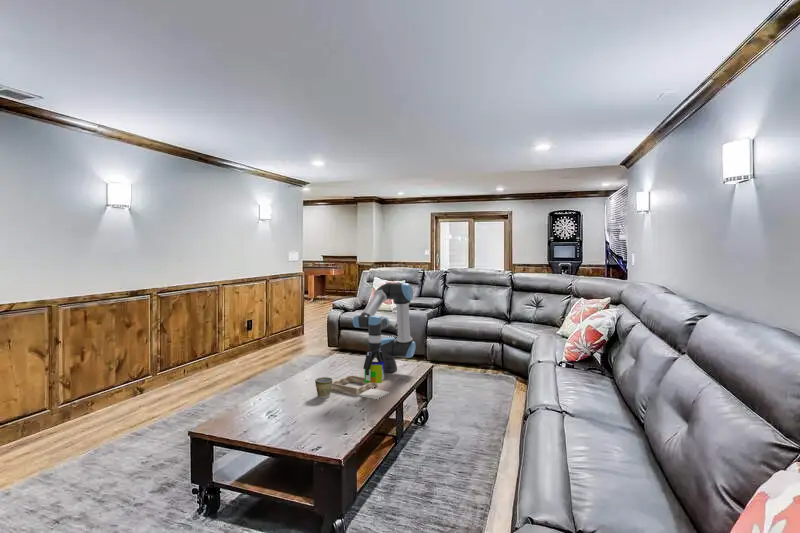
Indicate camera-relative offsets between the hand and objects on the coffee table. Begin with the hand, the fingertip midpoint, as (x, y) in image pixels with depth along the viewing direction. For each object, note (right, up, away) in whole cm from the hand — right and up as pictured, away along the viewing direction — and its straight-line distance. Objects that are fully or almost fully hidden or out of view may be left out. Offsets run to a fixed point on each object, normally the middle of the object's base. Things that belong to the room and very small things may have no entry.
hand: (374, 377), depth 258 cm
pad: (0, -10, 0) cm, 10 cm away
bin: (-13, -10, +13) cm, 21 cm away
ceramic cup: (-29, -10, -2) cm, 31 cm away
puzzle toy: (0, -2, 0) cm, 2 cm away
